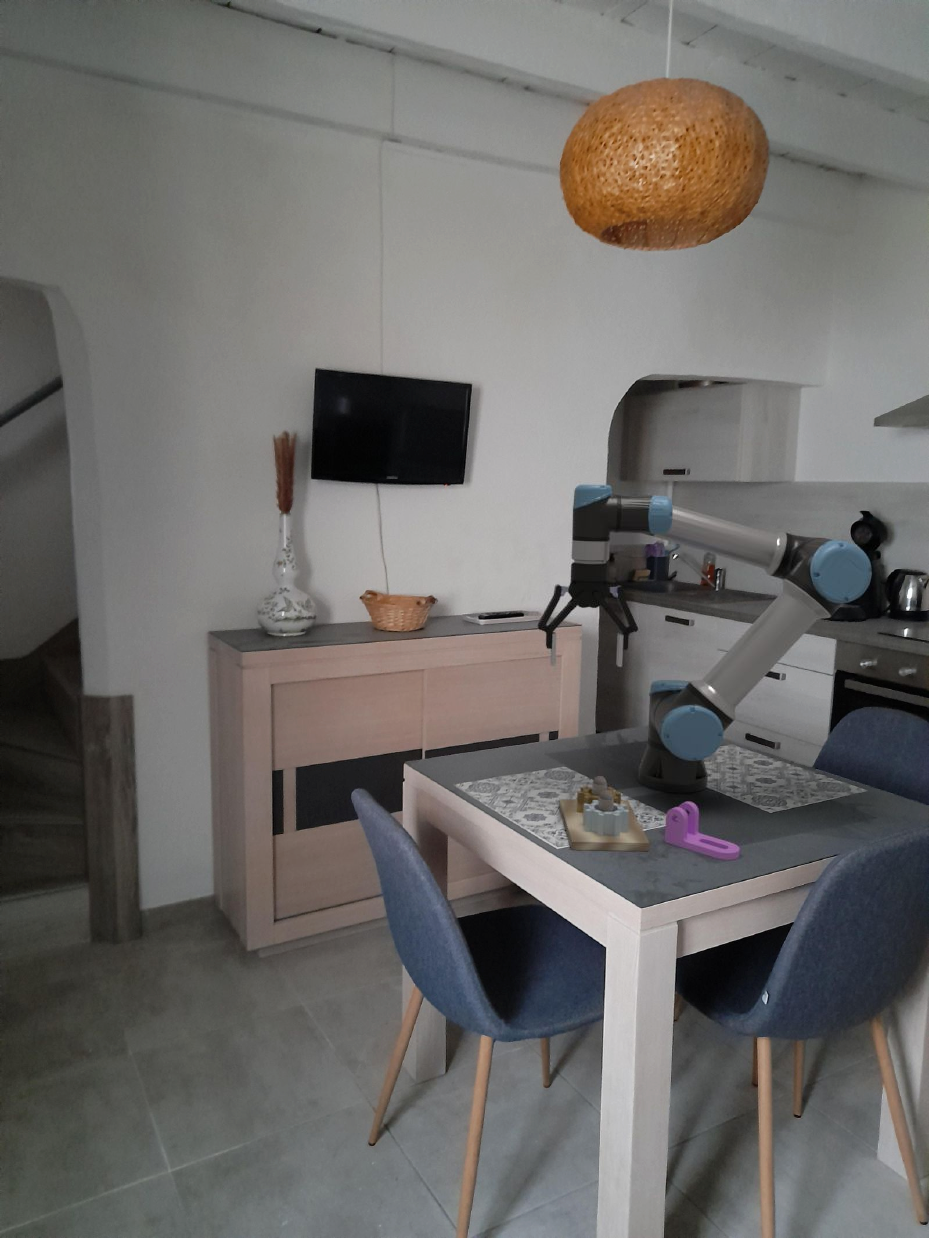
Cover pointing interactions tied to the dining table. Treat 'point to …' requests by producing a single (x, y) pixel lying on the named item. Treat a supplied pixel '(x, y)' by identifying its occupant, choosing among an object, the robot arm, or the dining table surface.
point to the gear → (605, 819)
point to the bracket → (695, 834)
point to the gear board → (605, 840)
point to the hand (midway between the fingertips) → (586, 665)
